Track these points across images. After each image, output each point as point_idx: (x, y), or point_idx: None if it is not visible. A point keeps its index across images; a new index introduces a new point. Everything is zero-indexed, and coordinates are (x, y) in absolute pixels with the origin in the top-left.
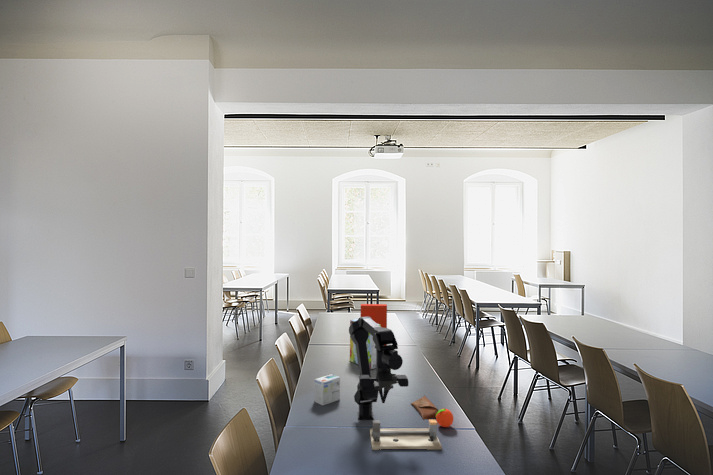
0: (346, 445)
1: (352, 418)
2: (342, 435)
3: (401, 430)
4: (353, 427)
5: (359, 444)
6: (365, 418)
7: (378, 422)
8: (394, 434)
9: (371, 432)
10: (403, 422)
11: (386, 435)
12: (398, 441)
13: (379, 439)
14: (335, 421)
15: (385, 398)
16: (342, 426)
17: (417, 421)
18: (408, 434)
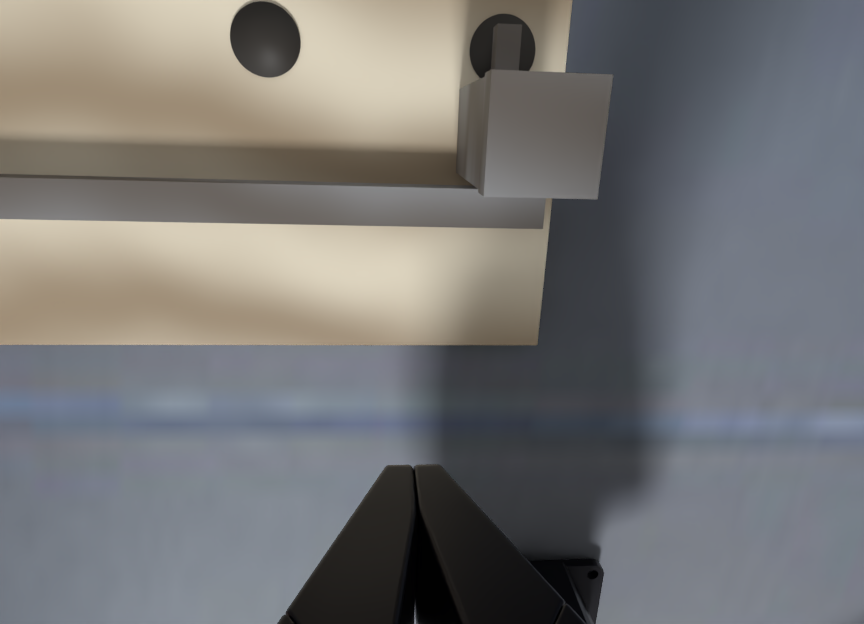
0: (826, 34)
1: (644, 573)
2: (810, 259)
3: (183, 293)
4: (670, 415)
5: (685, 50)
6: (536, 564)
7: (515, 106)
8: (272, 182)
9: (533, 254)
10: (166, 513)
11: (370, 177)
12: (231, 4)
13: (466, 74)
14: (803, 520)
15: (354, 535)
16: (765, 433)
17: (17, 535)
18: (93, 176)
